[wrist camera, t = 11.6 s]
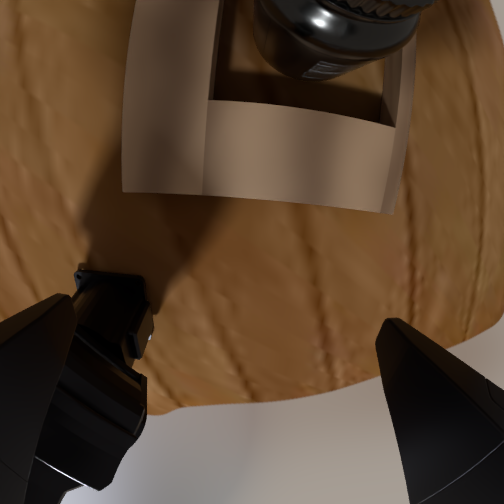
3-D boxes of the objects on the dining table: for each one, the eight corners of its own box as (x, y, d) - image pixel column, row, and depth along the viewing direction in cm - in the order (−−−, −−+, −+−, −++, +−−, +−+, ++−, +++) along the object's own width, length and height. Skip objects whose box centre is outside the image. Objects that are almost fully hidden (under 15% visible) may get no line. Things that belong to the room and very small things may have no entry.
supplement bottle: (367, 19, 14) (479, -42, 3) (337, 99, 16) (457, 90, 6) (271, -19, 12) (299, -134, 2) (236, 61, 15) (219, -23, 4)
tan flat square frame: (136, 182, 18) (122, 192, 16) (161, -47, 11) (152, -63, 8) (378, 203, 19) (392, 214, 17) (397, -18, 12) (413, -28, 9)
